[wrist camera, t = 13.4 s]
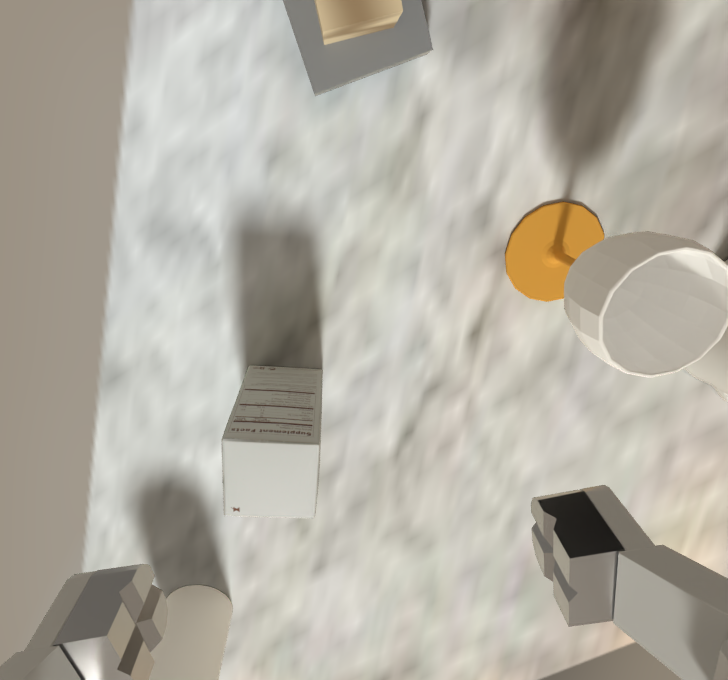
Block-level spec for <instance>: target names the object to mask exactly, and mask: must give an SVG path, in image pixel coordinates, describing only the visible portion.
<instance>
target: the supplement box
mask: <svg viewBox="0 0 728 680" xmlns="http://www.w3.org/2000/svg"><path fill="white" fill-rule="evenodd" d="M322 375H323V370H322V369H309V368H291V367H275V366H255V365H250V366H248V369H247V371H246V374H245V377H244V380H243V383H242V385H241V388H240V391H239V394H238V396H237V399H236V402H235V404H234V407H233V410H232V412H231V415H230V418H229V420H228V423H227V426H226V428H225V431H224V434H223V437H222V472H223V477H222V483H223V504H224V515H225V516H240V517H278V518H314V517H315V513H316V504H317V494H318V483H319V468H320V444H321V414H322Z"/></svg>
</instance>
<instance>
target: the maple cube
mask: <svg viewBox="0 0 728 680" xmlns="http://www.w3.org/2000/svg"><path fill="white" fill-rule="evenodd" d="M314 1H315V6H316V10H317V15H318V19H319V24H320V28H321V33H322V37H323V42H324V45H327V44H331V43H335V42H339V41H343V40H347V39H350V38H354V37H358V36H362V35H366V34H370V33H374V32H378V31H382V30H386V29H390V28H394V26H395V24H396V23H397V21H398V19H399V17H400V16H401V14H402V12H403V7H402V1H401V0H314Z"/></svg>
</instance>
